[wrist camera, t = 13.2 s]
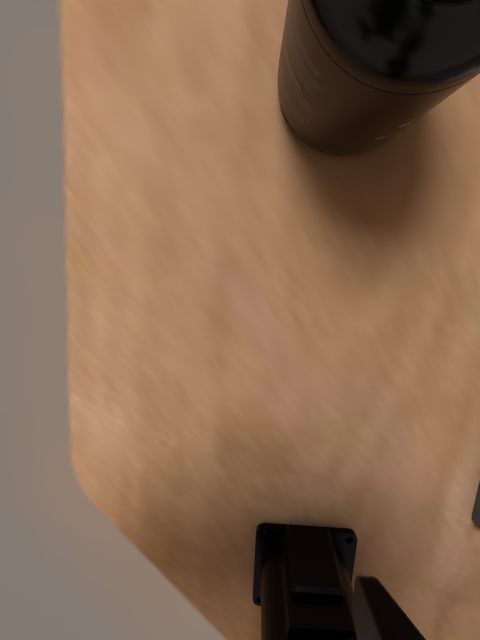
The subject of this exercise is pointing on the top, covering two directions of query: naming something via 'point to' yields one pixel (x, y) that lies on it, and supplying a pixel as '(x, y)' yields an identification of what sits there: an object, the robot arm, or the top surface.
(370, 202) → the top surface
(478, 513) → the ink pad
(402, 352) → the top surface
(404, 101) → the supplement bottle
